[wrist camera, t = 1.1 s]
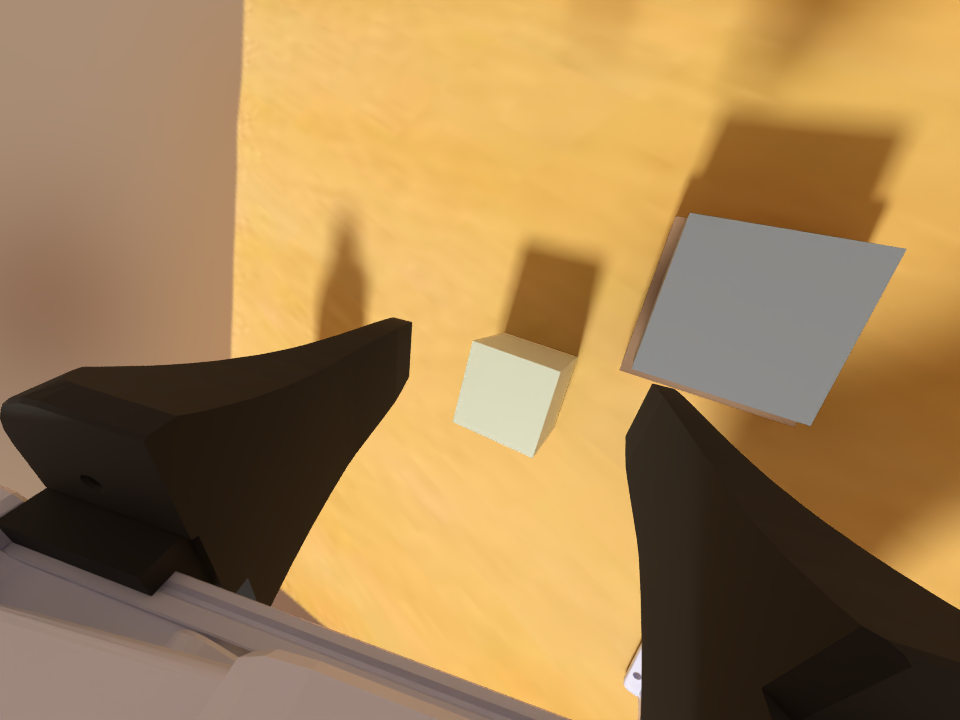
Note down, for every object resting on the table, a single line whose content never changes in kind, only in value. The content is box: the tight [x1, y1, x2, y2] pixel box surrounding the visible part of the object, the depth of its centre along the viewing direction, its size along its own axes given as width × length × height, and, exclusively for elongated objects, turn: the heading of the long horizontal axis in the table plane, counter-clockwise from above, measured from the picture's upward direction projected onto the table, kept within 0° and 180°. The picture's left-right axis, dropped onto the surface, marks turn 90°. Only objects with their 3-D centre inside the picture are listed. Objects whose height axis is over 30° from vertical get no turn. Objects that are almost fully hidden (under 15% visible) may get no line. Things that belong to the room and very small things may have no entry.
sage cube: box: [453, 333, 578, 458], centre depth 22 cm, size 5×5×5 cm
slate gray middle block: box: [632, 213, 906, 426], centre depth 16 cm, size 7×7×2 cm
